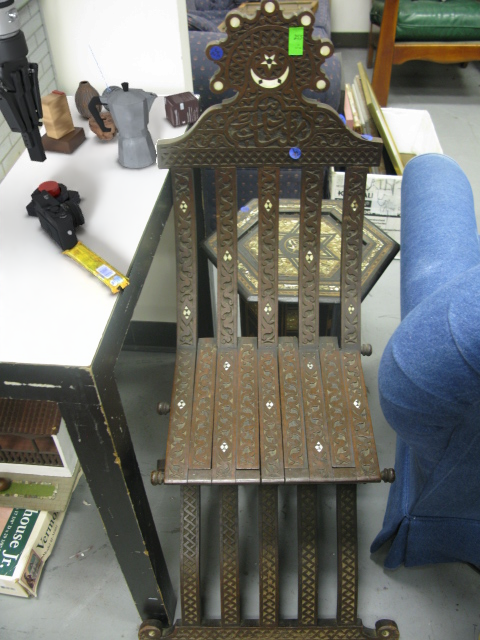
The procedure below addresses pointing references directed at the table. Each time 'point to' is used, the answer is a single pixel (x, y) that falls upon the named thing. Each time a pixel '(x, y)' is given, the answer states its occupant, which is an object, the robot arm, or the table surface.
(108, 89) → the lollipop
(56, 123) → the tan wooden block
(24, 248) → the table surface
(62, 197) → the button block
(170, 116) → the box
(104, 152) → the table surface
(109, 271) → the candy bar
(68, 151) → the brown square block
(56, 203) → the camera
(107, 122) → the artifact
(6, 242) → the table surface
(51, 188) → the button
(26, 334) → the table surface
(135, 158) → the coffeepot
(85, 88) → the vase
